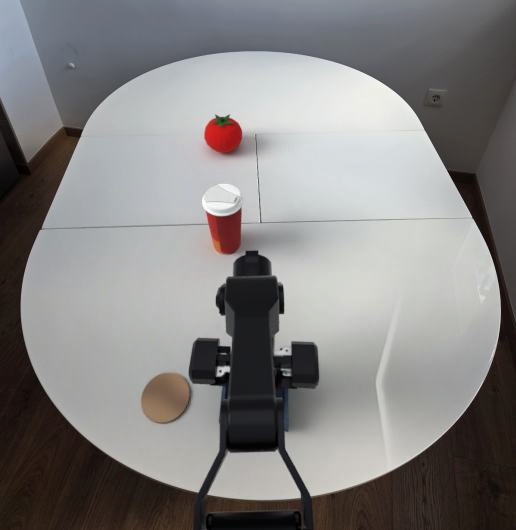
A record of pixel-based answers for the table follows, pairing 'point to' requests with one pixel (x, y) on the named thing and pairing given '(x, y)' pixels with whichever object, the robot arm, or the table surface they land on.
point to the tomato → (223, 134)
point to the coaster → (165, 397)
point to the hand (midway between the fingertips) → (255, 385)
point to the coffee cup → (224, 216)
